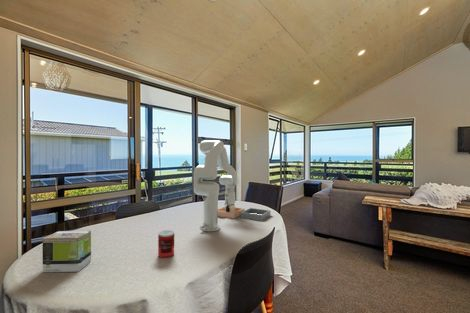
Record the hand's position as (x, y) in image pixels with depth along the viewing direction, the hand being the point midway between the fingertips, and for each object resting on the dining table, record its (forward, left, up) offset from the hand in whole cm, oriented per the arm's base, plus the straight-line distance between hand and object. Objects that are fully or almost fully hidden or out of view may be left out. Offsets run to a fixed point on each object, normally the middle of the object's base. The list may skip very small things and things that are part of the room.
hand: (229, 211), depth 191 cm
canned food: (-80, -10, -3) cm, 81 cm away
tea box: (-111, +18, -3) cm, 112 cm away
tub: (0, 0, -3) cm, 3 cm away
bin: (+5, -21, -3) cm, 22 cm away
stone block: (0, 0, 0) cm, 0 cm away
